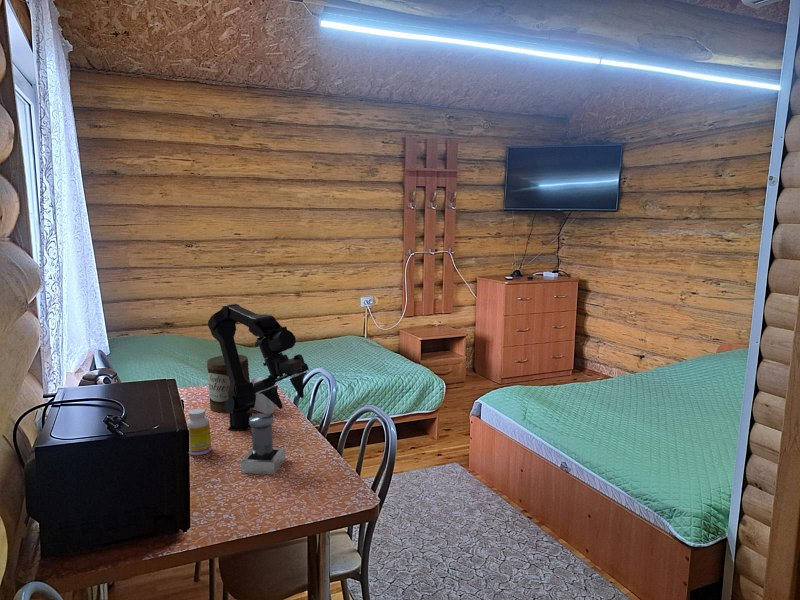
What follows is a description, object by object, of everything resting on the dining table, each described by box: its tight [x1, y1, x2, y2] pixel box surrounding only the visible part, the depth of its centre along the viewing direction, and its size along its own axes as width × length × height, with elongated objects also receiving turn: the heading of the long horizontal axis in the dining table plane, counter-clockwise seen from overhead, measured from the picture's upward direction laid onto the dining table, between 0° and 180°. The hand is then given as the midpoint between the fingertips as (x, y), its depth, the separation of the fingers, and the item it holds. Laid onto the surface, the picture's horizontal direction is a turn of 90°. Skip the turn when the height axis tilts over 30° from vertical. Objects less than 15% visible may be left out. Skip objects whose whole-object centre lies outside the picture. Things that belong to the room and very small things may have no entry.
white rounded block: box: [250, 376, 276, 415], centre depth 205 cm, size 10×4×12 cm, turn 48°
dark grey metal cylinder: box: [249, 413, 274, 460], centre depth 160 cm, size 7×7×14 cm
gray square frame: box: [240, 447, 286, 475], centre depth 161 cm, size 10×10×4 cm
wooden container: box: [206, 354, 251, 414], centre depth 210 cm, size 15×15×22 cm
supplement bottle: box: [186, 408, 212, 456], centre depth 171 cm, size 7×7×13 cm
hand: (292, 403), depth 173 cm, fingers open, 9 cm apart
